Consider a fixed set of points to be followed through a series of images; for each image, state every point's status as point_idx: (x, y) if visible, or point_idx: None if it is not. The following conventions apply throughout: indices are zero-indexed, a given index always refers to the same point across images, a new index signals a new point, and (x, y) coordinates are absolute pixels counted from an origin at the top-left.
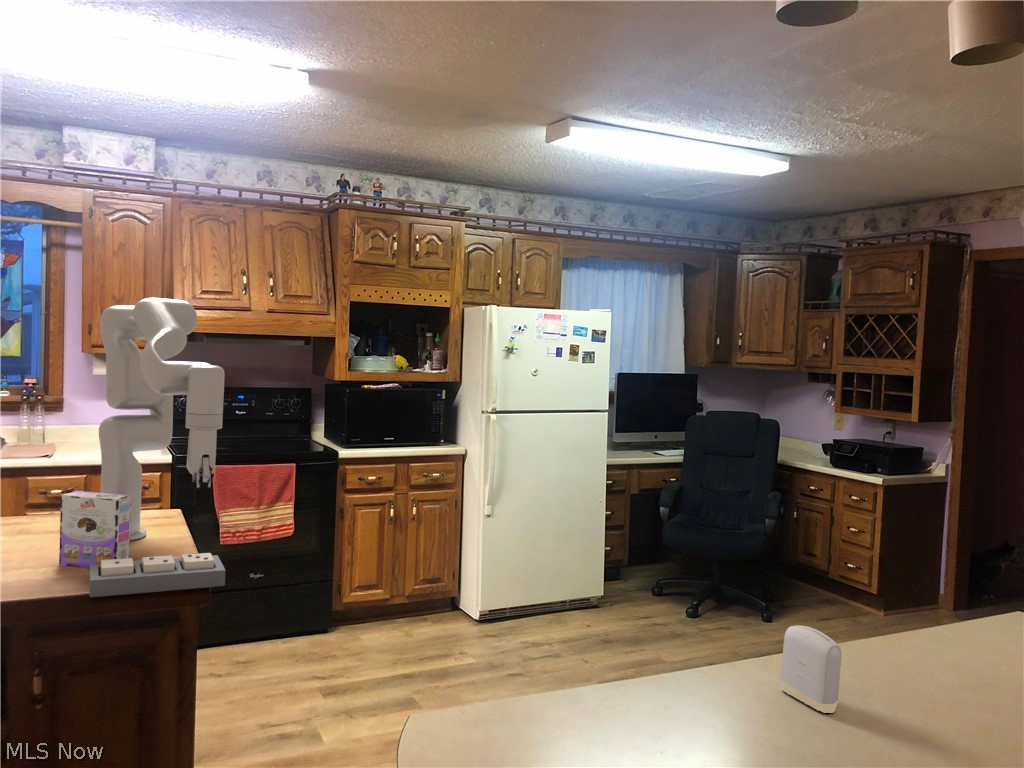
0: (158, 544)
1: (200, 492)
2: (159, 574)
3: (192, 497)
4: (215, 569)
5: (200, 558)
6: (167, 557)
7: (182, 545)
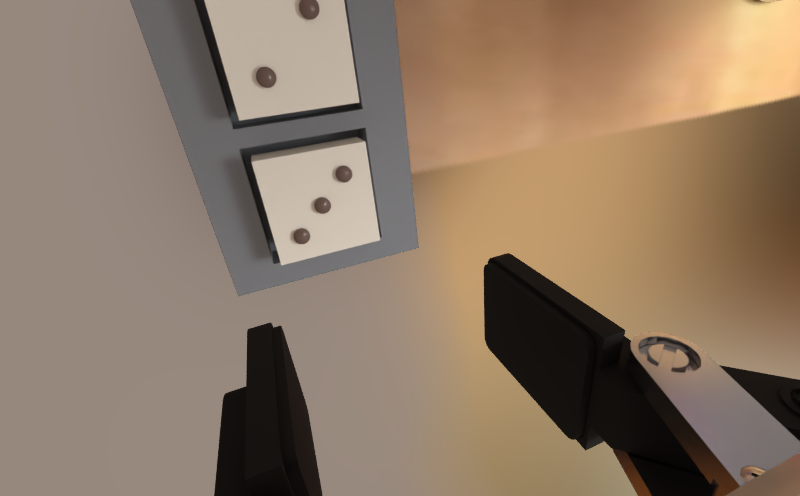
0: (673, 43)
1: (219, 485)
2: (161, 54)
3: (492, 272)
4: (244, 264)
5: (306, 216)
6: (329, 83)
7: (640, 116)
